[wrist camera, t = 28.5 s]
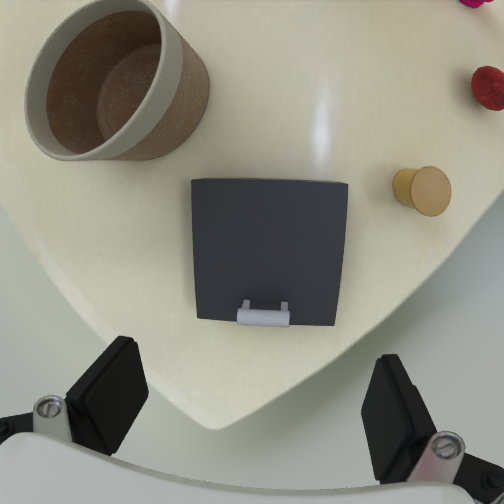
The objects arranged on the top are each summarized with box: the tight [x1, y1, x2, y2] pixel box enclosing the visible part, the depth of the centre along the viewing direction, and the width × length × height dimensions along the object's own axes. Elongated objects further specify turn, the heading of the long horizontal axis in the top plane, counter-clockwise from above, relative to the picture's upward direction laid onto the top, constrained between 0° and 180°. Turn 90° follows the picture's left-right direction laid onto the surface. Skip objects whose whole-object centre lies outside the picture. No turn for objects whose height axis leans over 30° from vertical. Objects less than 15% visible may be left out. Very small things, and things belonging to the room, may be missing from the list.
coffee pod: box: [393, 166, 451, 217], centre depth 27 cm, size 5×5×6 cm
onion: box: [471, 66, 504, 111], centre depth 21 cm, size 6×6×8 cm
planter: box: [24, 0, 209, 161], centre depth 24 cm, size 16×16×14 cm
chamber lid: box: [191, 179, 348, 327], centre depth 28 cm, size 16×16×5 cm
